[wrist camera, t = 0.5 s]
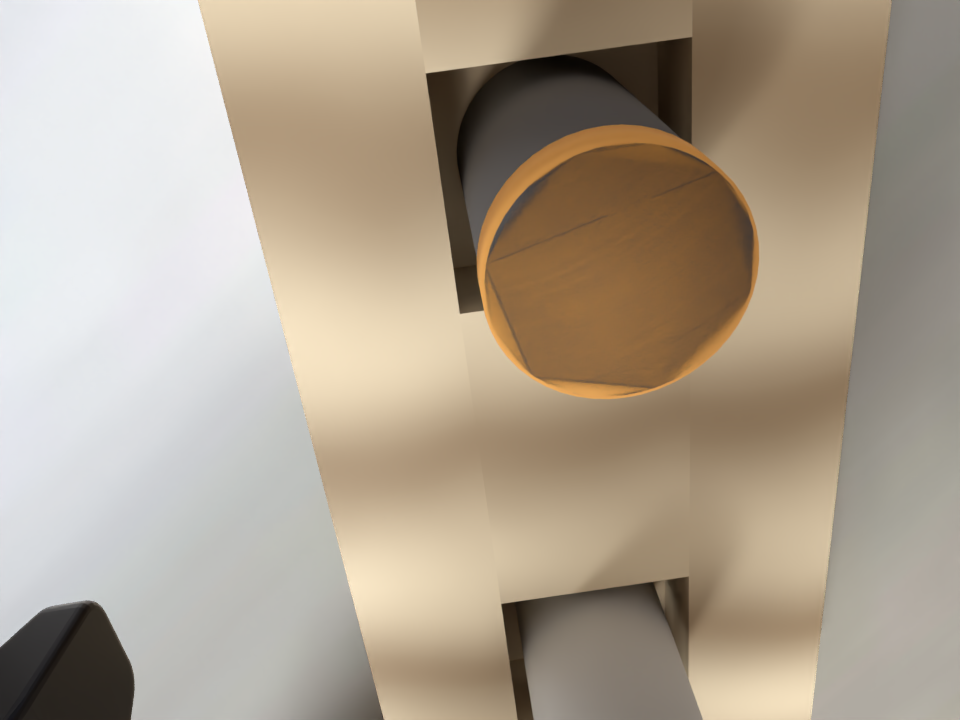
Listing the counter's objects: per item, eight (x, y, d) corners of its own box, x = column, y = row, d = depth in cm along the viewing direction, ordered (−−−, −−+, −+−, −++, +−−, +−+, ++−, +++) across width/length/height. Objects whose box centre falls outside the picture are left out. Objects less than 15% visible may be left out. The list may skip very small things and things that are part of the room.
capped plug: (644, 227, 20) (753, 379, 14) (466, 252, 20) (496, 415, 13) (640, 38, 18) (765, 120, 12) (442, 66, 17) (464, 161, 11)
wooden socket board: (769, 674, 28) (806, 754, 26) (407, 727, 28) (408, 814, 25) (831, -183, 16) (913, -195, 14) (209, -100, 16) (172, -96, 14)
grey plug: (652, 630, 26) (728, 855, 20) (521, 649, 26) (557, 881, 20) (649, 528, 24) (733, 744, 18) (507, 549, 24) (544, 773, 18)
